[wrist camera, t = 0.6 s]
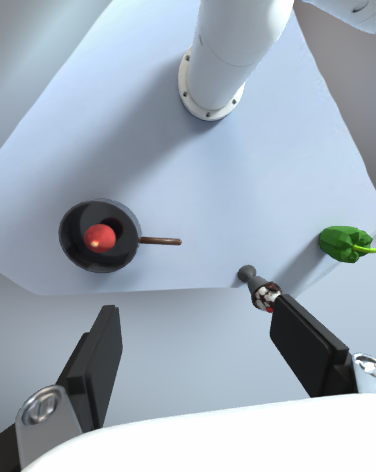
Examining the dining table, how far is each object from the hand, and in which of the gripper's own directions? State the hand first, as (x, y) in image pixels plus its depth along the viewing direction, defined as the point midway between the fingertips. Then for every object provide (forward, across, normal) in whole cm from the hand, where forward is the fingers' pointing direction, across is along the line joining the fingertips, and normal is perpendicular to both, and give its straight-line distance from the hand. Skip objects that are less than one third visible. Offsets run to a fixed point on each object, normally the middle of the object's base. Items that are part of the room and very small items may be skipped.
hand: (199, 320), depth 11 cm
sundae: (+33, -19, +15) cm, 41 cm away
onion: (+33, +15, +3) cm, 36 cm away
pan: (+33, +15, +3) cm, 37 cm away
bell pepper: (+33, -40, +5) cm, 52 cm away
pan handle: (+30, +3, +4) cm, 30 cm away
